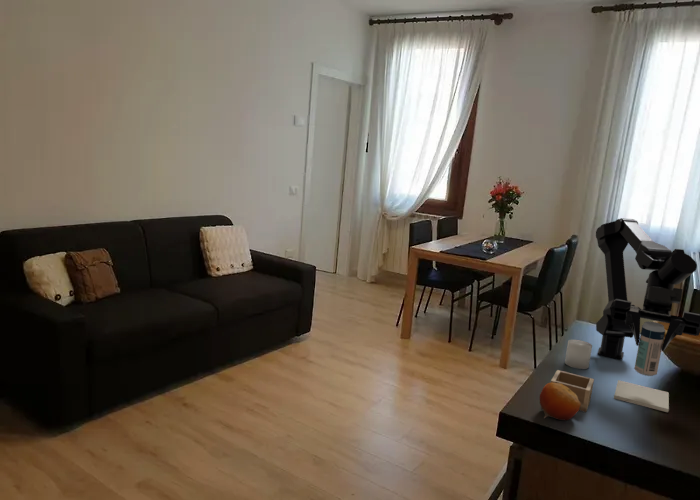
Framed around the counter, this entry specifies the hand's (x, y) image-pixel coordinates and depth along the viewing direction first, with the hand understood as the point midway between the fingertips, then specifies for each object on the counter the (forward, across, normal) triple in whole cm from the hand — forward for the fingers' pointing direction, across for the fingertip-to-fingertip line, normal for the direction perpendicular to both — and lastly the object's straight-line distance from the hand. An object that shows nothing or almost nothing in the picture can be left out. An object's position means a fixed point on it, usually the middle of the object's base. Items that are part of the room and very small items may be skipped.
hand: (650, 347), depth 124 cm
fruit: (+25, -15, -7) cm, 30 cm away
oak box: (+18, -14, 0) cm, 23 cm away
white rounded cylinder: (0, -16, +18) cm, 24 cm away
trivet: (+8, 0, +10) cm, 13 cm away
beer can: (+4, 0, +6) cm, 7 cm away
